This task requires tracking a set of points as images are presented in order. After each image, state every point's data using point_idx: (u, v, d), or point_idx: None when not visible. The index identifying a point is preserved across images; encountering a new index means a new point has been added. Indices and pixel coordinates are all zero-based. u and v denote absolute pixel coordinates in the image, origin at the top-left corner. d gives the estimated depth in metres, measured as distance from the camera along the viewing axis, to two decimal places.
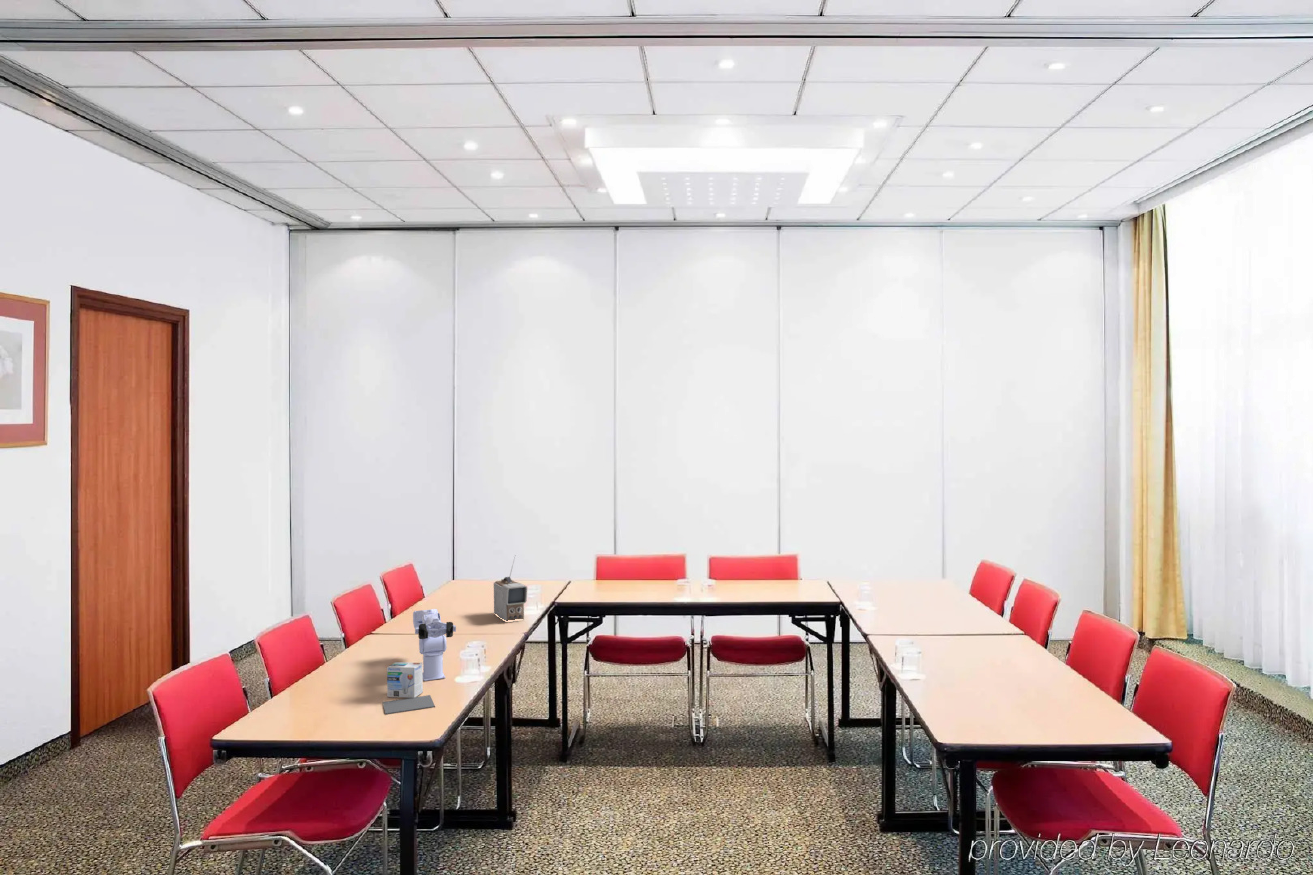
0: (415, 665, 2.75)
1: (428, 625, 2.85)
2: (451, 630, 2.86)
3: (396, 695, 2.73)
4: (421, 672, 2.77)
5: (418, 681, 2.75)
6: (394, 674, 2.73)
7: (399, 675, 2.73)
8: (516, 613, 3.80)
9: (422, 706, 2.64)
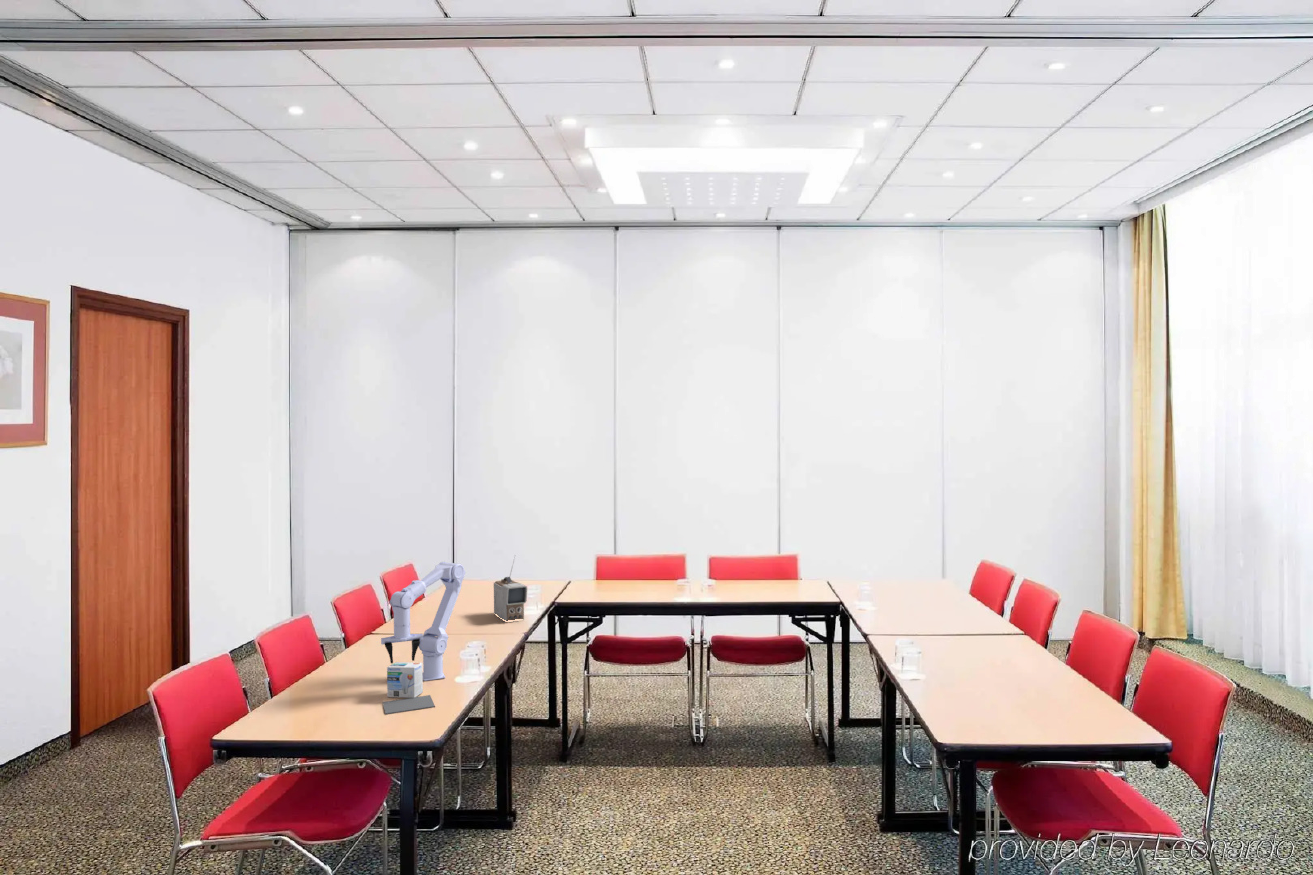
0: (415, 665, 2.75)
1: None
2: None
3: (396, 695, 2.73)
4: (421, 672, 2.77)
5: (418, 681, 2.75)
6: (394, 674, 2.73)
7: (399, 675, 2.73)
8: (516, 613, 3.80)
9: (422, 706, 2.64)
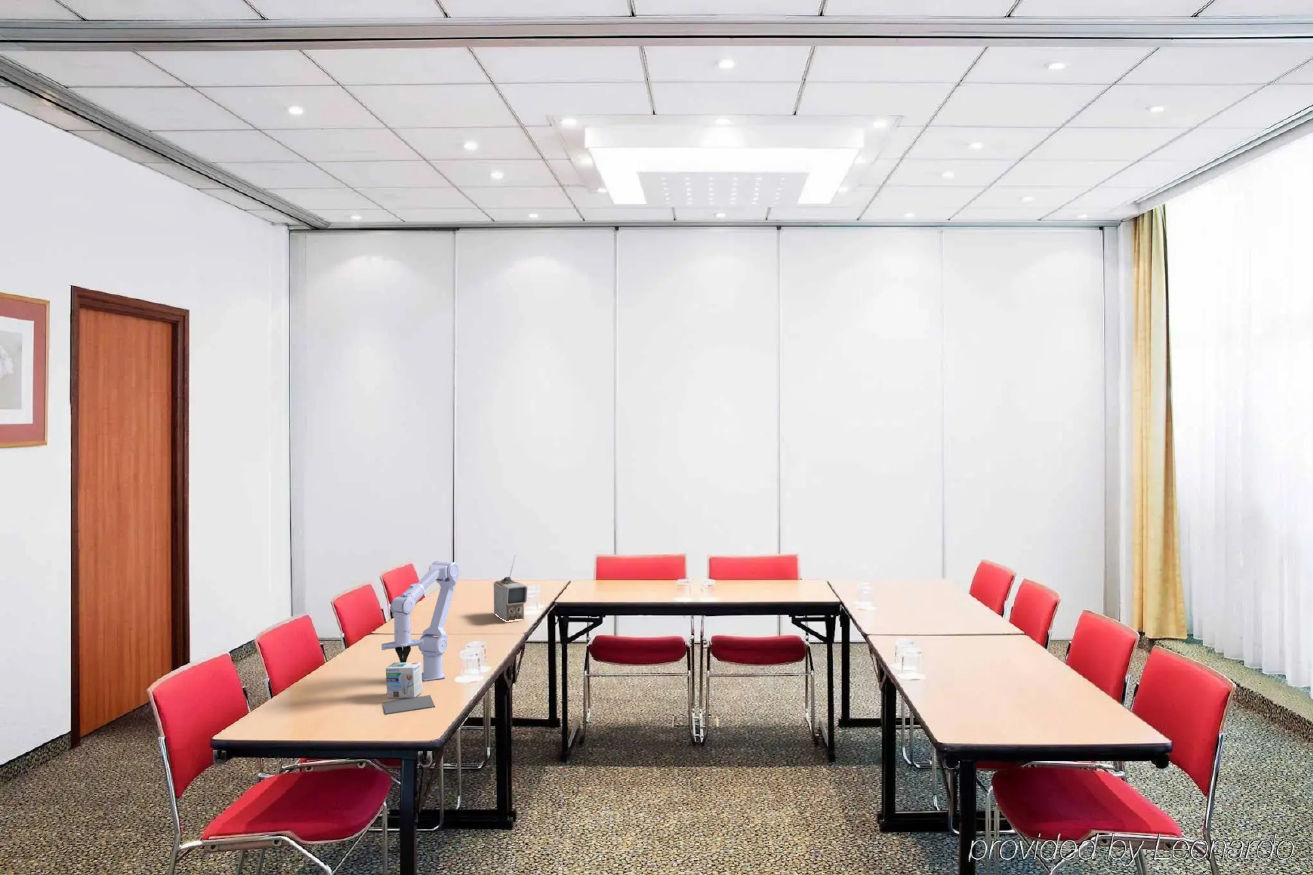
0: (414, 665, 2.74)
1: None
2: None
3: (396, 695, 2.73)
4: (420, 671, 2.77)
5: (417, 681, 2.74)
6: (393, 675, 2.73)
7: (398, 676, 2.72)
8: (516, 613, 3.80)
9: (422, 706, 2.64)
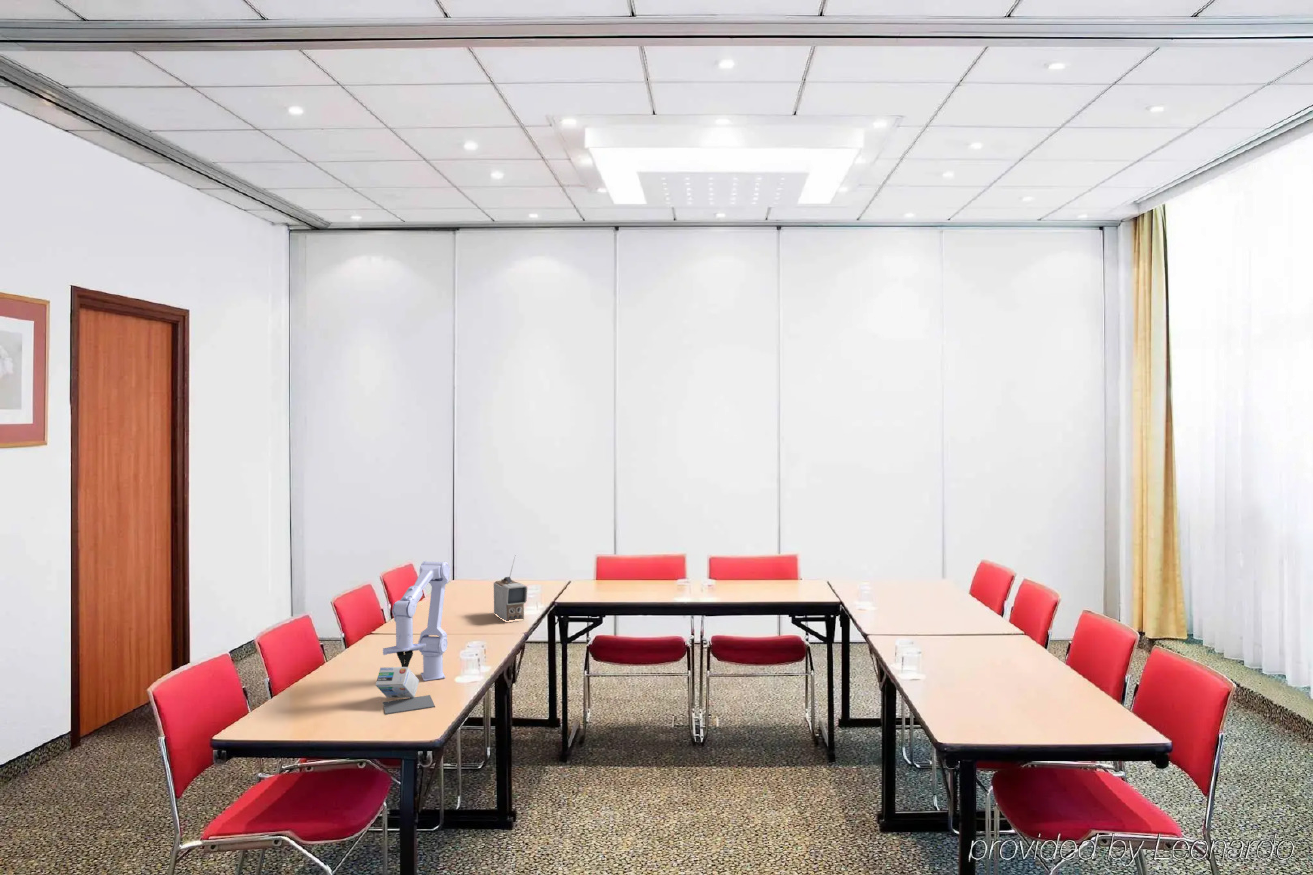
0: (403, 678, 2.66)
1: None
2: None
3: (395, 697, 2.72)
4: (411, 674, 2.70)
5: (411, 684, 2.70)
6: (385, 688, 2.67)
7: (391, 688, 2.67)
8: (516, 613, 3.80)
9: (422, 706, 2.64)
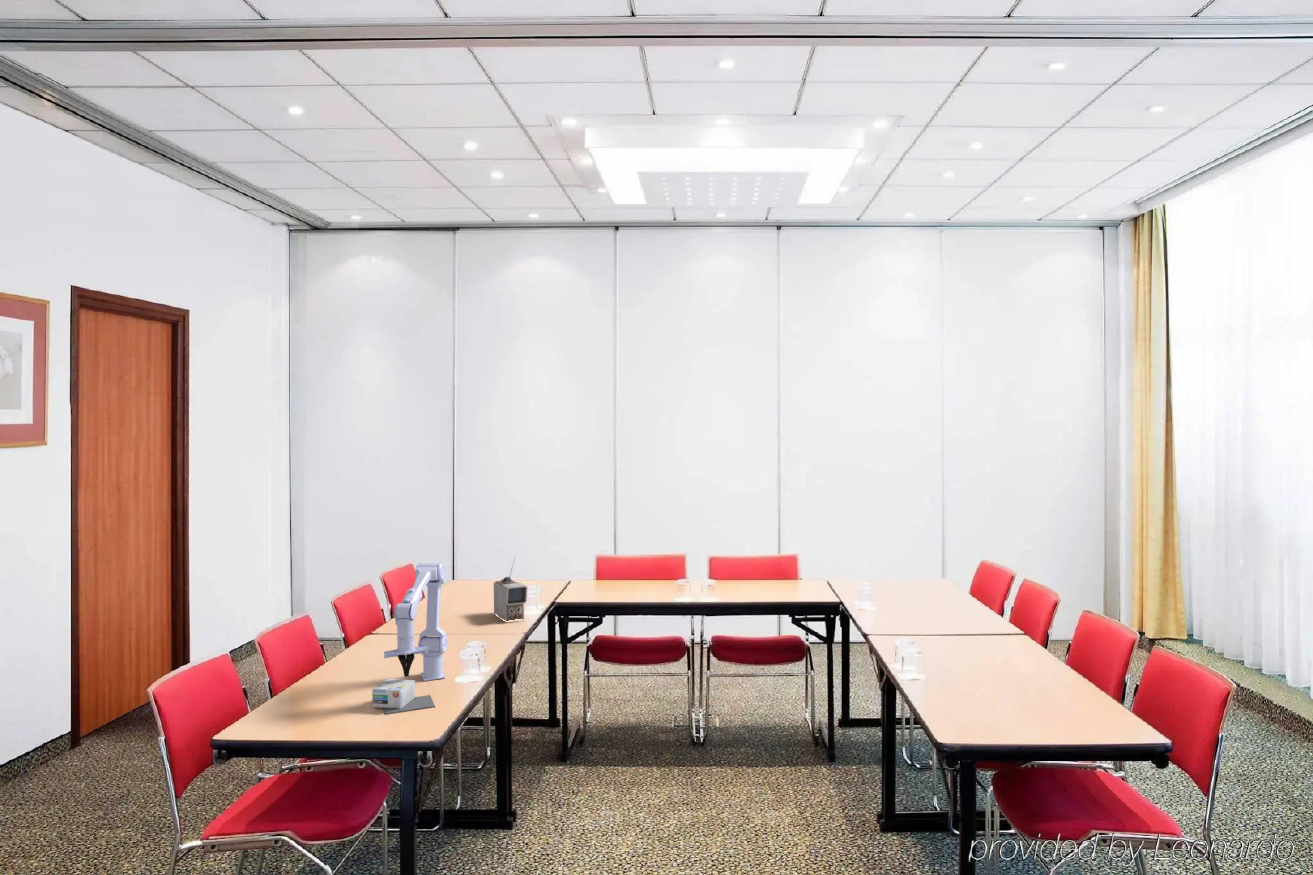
0: (398, 702, 2.61)
1: None
2: None
3: None
4: (405, 690, 2.64)
5: (408, 695, 2.67)
6: None
7: None
8: (516, 613, 3.80)
9: (422, 706, 2.64)
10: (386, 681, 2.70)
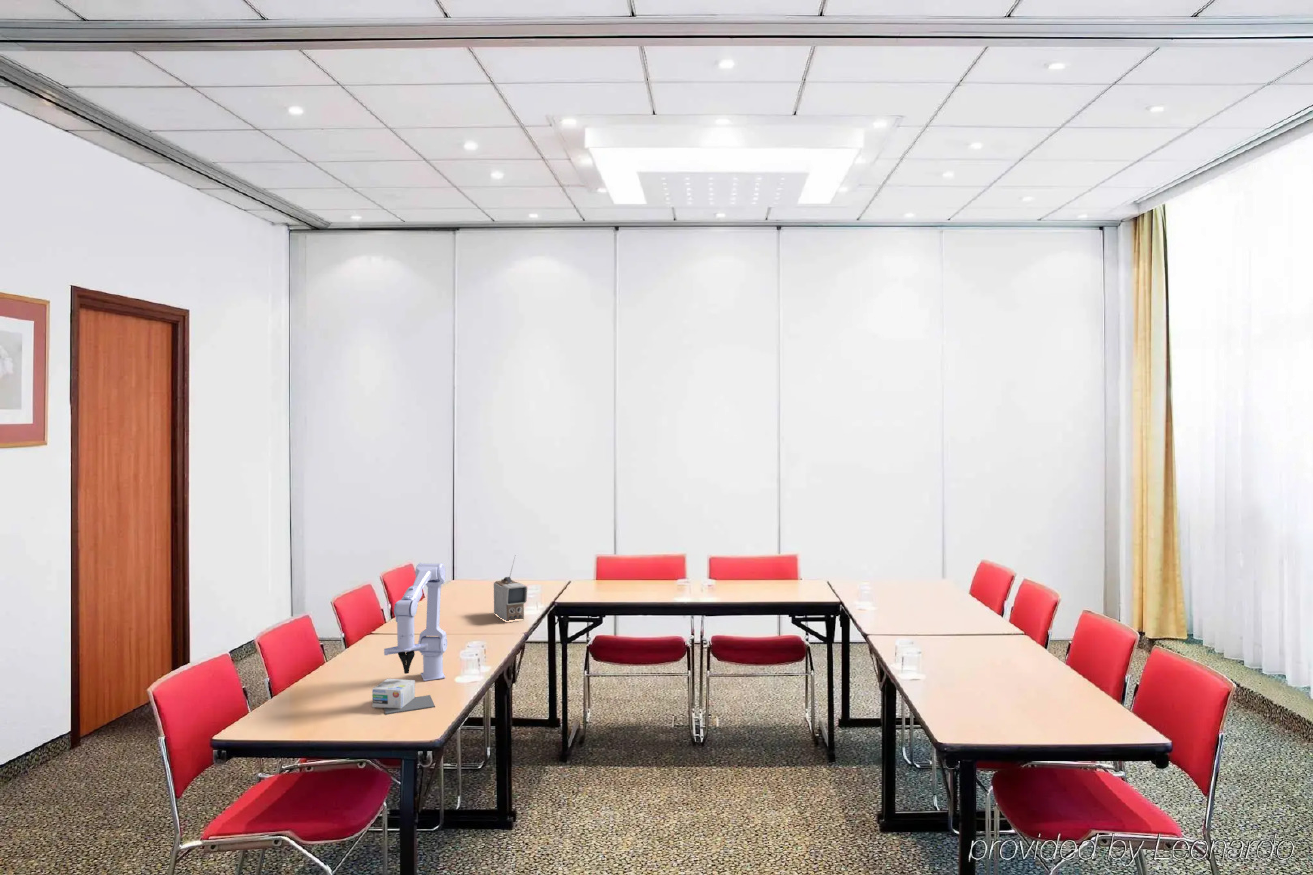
0: (398, 702, 2.61)
1: None
2: None
3: None
4: (405, 690, 2.64)
5: (408, 695, 2.67)
6: None
7: None
8: (516, 613, 3.80)
9: (422, 706, 2.64)
10: (386, 681, 2.70)
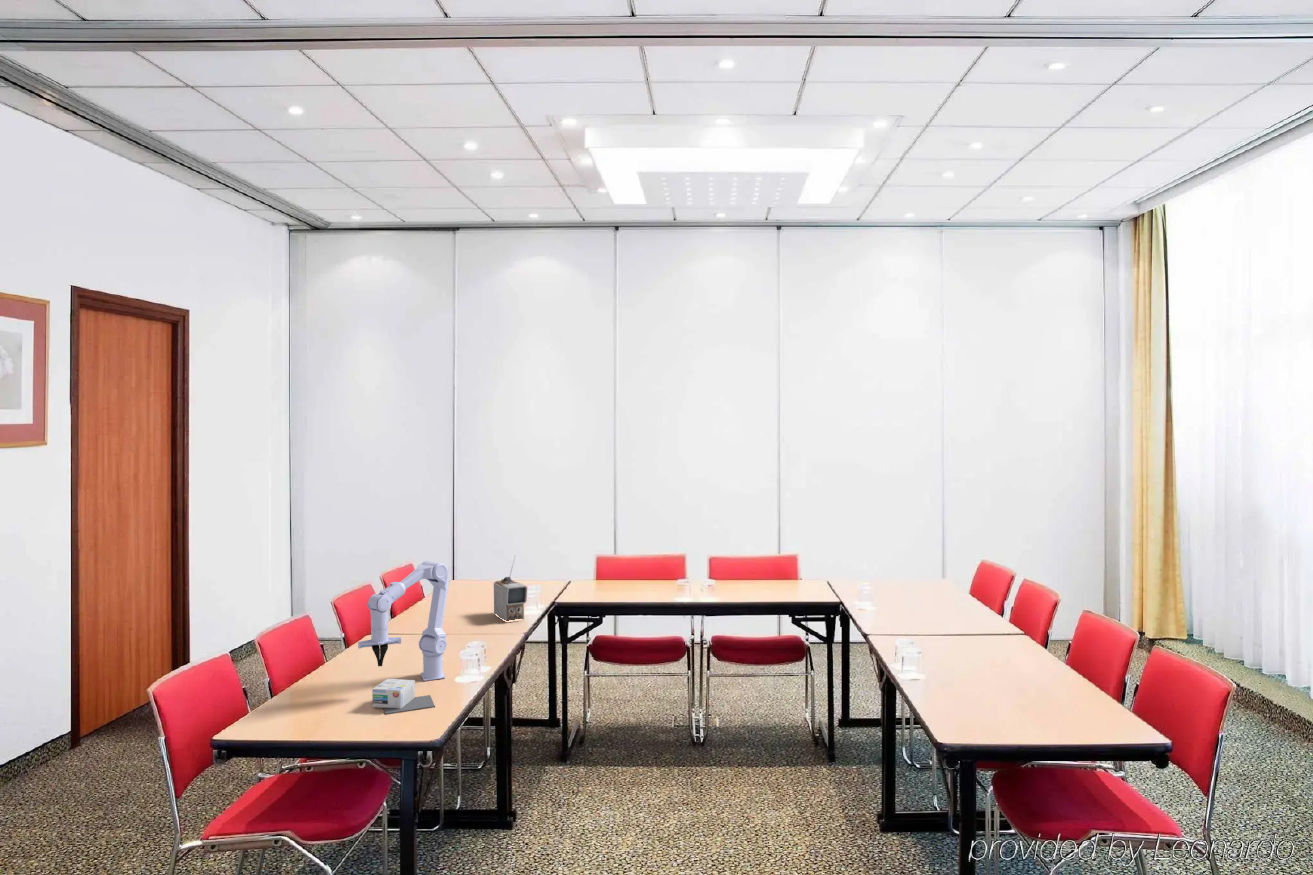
0: (398, 702, 2.61)
1: None
2: None
3: None
4: (405, 690, 2.64)
5: (408, 695, 2.67)
6: None
7: None
8: (516, 613, 3.80)
9: (422, 706, 2.64)
10: (386, 681, 2.70)
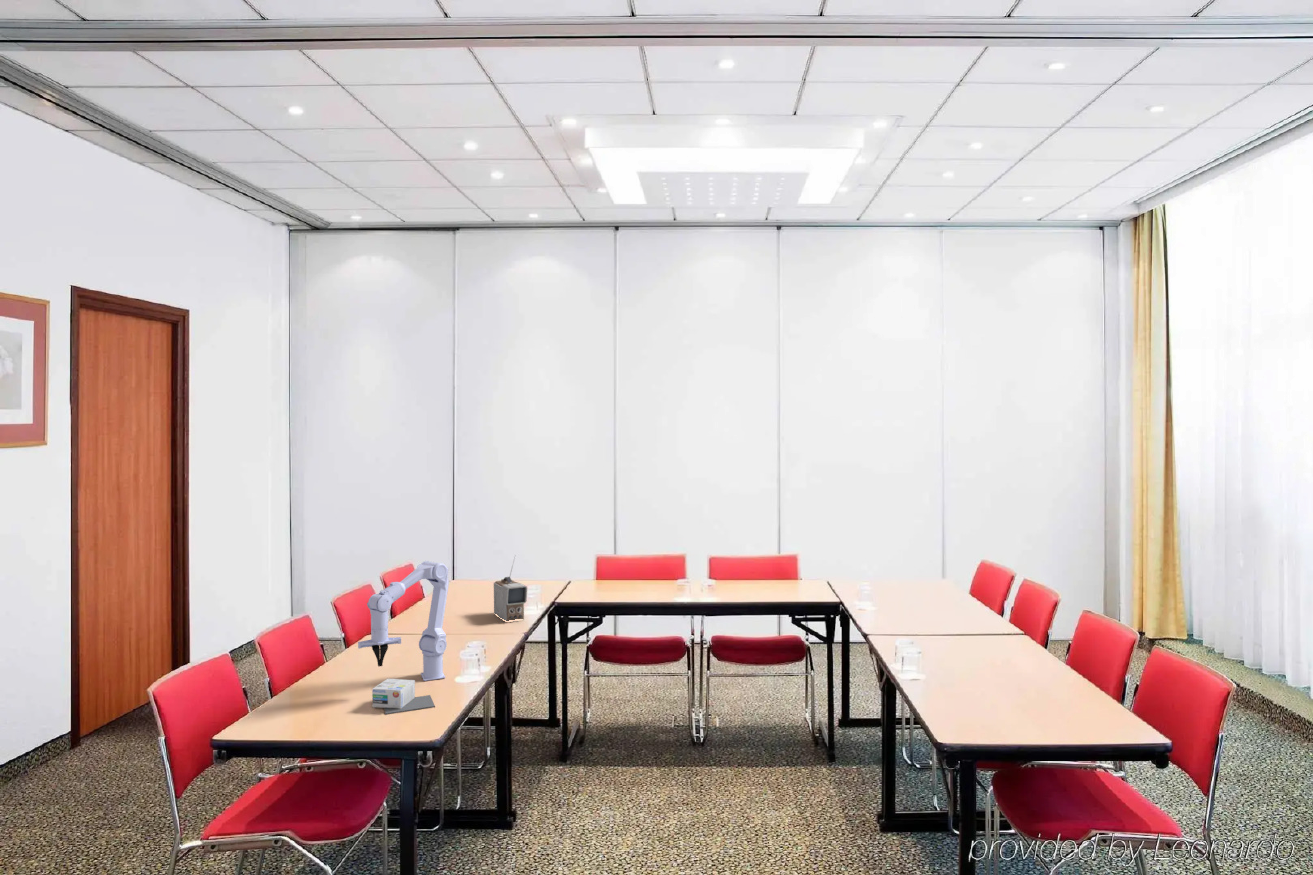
0: (398, 702, 2.61)
1: None
2: None
3: None
4: (405, 690, 2.64)
5: (408, 695, 2.67)
6: None
7: None
8: (516, 613, 3.80)
9: (422, 706, 2.64)
10: (386, 681, 2.70)
